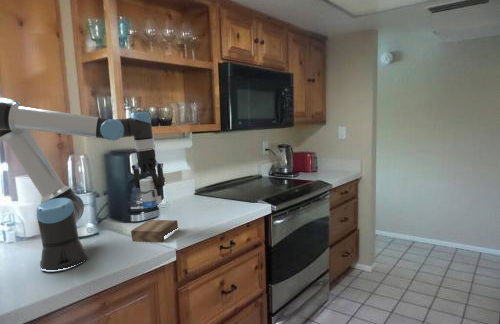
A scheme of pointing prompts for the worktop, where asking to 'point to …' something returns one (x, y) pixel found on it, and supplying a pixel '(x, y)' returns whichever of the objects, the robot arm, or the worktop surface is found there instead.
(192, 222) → the worktop surface
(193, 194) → the worktop surface
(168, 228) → the walnut block
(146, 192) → the ink box
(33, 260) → the worktop surface
